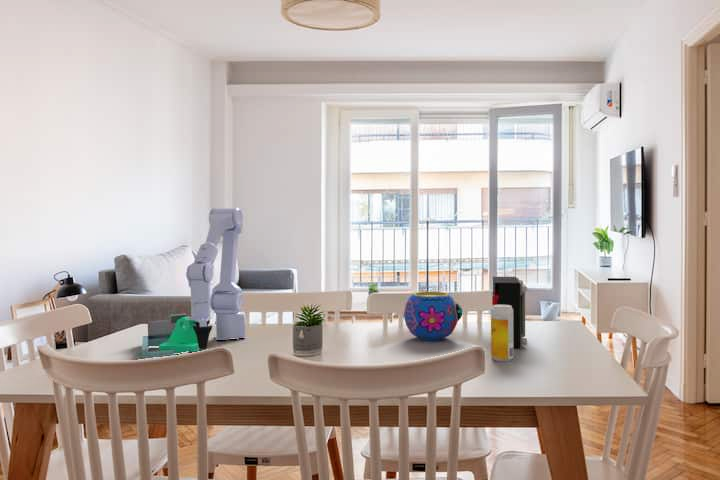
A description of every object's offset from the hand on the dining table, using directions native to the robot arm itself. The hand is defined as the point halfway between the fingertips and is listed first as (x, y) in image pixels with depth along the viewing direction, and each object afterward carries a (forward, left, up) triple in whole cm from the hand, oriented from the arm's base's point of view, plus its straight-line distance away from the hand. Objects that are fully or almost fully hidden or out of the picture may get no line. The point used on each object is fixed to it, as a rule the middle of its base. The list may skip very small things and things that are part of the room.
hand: (201, 346), depth 173 cm
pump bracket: (+13, 0, -1) cm, 13 cm away
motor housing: (+8, -14, -1) cm, 16 cm away
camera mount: (+6, -1, -2) cm, 6 cm away
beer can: (-78, +45, -2) cm, 90 cm away
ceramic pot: (-72, +14, -2) cm, 73 cm away
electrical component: (-92, +28, -2) cm, 96 cm away
